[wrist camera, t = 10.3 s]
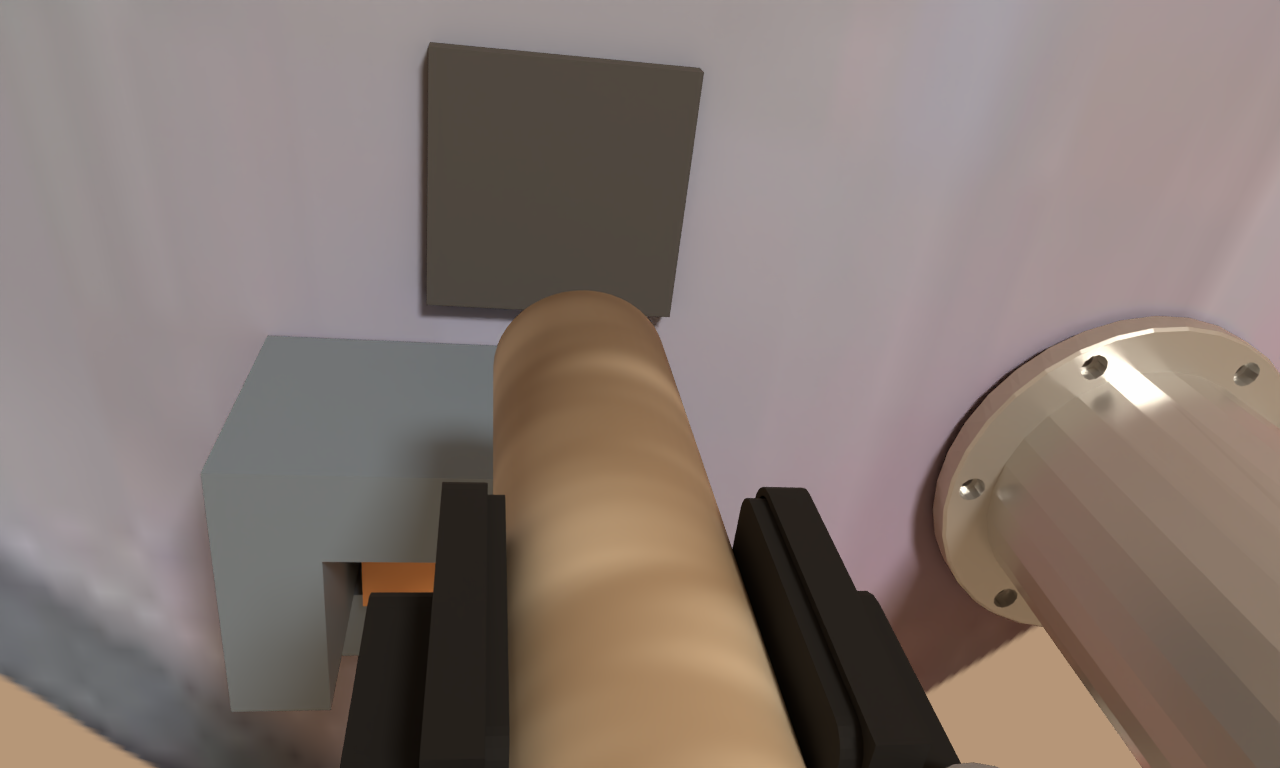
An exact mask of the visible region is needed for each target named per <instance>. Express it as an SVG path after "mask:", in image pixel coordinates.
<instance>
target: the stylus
mask: <svg viewBox="0 0 1280 768" xmlns="http://www.w3.org/2000/svg"><path fill="white" fill-rule="evenodd" d="M493 495H505V502H506V558H507V614H508V670H509V727H510V743H509V768H807V767H806V764H805V761H804V758H803V755H802V752H801V749H800V746H799V743H798V740H797V738H796V735H795V732H794V729H793V726H792V723H791V720H790V717H789V714H788V711H787V708H786V705H785V702H784V699H783V697H782V694H781V691H780V688H779V685H778V682H777V679H776V676H775V673H774V670H773V667H772V664H771V661H770V658H769V656H768V653H767V650H766V647H765V644H764V641H763V638H762V635H761V632H760V629H759V626H758V623H757V620H756V617H755V615H754V612H753V609H752V606H751V603H750V600H749V597H748V594H747V591H746V588H745V585H744V582H743V579H742V576H741V574H740V571H739V568H738V565H737V562H736V559H735V556H734V553H733V550H732V547H731V544H730V541H729V538H728V535H727V533H726V530H725V527H724V524H723V521H722V518H721V515H720V512H719V509H718V506H717V503H716V500H715V497H714V494H713V491H712V489H711V486H710V483H709V480H708V477H707V474H706V471H705V468H704V465H703V462H702V459H701V456H700V453H699V450H698V448H697V445H696V442H695V439H694V436H693V433H692V430H691V427H690V424H689V421H688V418H687V415H686V412H685V409H684V407H683V404H682V401H681V398H680V395H679V392H678V389H677V386H676V383H675V380H674V377H673V374H672V371H671V368H670V366H669V363H668V360H667V357H666V354H665V351H664V348H663V345H662V342H661V340H660V337H659V335H658V333H657V331H656V329H655V328H654V326H653V324H652V323H651V322H650V321H649V319H648V318H647V317H646V316H645V315H644V314H643V313H642V312H641V311H640V310H639V309H637V308H636V307H634V306H633V305H632V304H630V303H628V302H627V301H625V300H623V299H621V298H618V297H616V296H613V295H610V294H606V293H602V292H597V291H588V290H578V291H568V292H562V293H558V294H554V295H551V296H549V297H546V298H544V299H541V300H539V301H537V302H536V303H534V304H532V305H530V306H529V307H528V308H526V309H525V310H523V311H522V312H521V313H520V314H519V315H518V316H517V317H516V318H515V319H514V320H513V321H512V322H511V323H510V324H509V326H508V327H507V328H506V330H505V332H504V333H503V335H502V336H501V339H500V341H499V343H498V345H497V349H496V352H495V356H494V364H493Z"/></svg>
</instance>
